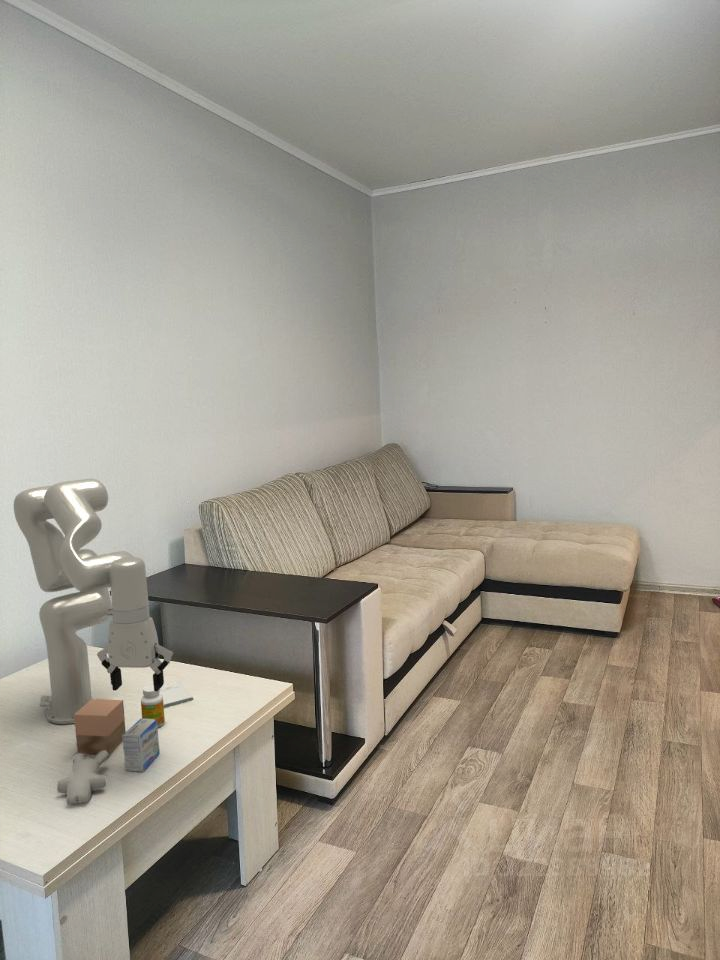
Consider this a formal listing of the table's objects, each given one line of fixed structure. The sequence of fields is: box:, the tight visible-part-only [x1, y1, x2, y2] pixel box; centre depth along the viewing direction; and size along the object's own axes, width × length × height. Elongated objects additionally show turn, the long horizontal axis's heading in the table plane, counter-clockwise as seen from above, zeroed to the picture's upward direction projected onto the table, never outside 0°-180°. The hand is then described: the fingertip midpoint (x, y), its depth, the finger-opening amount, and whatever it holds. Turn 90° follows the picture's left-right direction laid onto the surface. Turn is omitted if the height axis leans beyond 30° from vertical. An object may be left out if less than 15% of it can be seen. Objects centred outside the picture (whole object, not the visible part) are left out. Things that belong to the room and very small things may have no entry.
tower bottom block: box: [75, 719, 127, 756], centre depth 164 cm, size 8×8×5 cm
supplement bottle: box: [140, 684, 166, 729], centre depth 173 cm, size 5×5×10 cm
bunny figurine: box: [56, 750, 111, 805], centre depth 148 cm, size 10×5×15 cm
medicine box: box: [122, 718, 161, 773], centre depth 156 cm, size 8×4×9 cm, turn 168°
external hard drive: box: [160, 681, 194, 709], centre depth 190 cm, size 2×8×12 cm
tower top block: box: [74, 698, 126, 736], centre depth 163 cm, size 8×8×5 cm
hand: (137, 688), depth 154 cm, fingers open, 9 cm apart
